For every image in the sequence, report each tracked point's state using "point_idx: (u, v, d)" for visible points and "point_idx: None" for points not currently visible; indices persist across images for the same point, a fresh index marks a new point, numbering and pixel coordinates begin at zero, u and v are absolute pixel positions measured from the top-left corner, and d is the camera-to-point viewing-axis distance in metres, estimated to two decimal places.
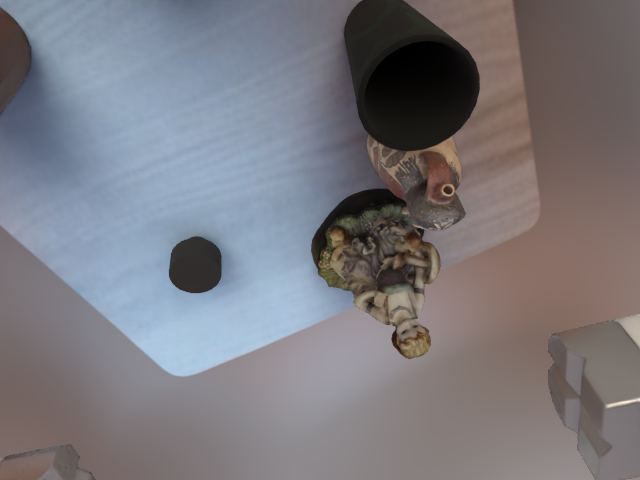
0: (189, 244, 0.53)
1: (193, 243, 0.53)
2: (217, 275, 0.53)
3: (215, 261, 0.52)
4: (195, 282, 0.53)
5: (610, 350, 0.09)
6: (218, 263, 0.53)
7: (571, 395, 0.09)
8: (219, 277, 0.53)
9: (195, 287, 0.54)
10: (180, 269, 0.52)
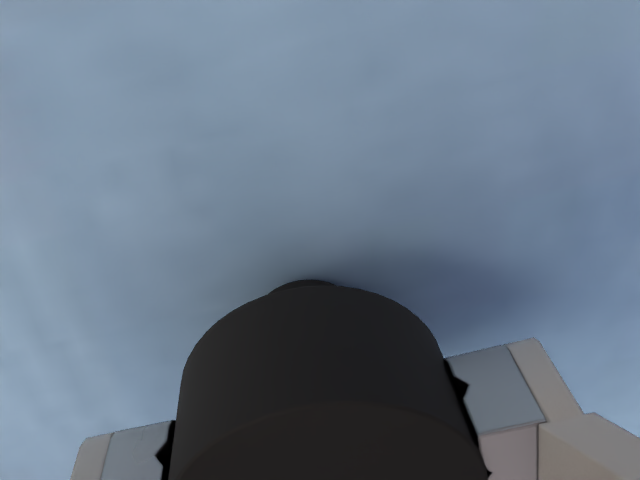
0: None
1: None
2: (356, 421, 0.07)
3: (227, 430, 0.07)
4: None
5: (494, 376, 0.09)
6: (264, 397, 0.07)
7: None
8: (378, 411, 0.07)
9: None
10: None
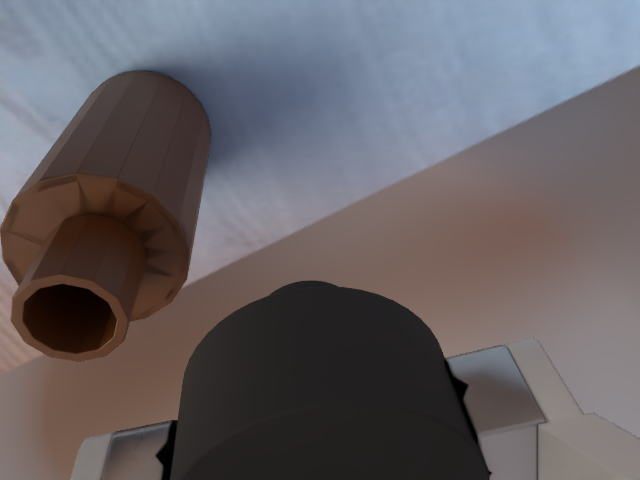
0: None
1: None
2: (358, 422, 0.07)
3: (229, 431, 0.07)
4: None
5: (494, 376, 0.09)
6: (266, 399, 0.07)
7: None
8: (380, 412, 0.07)
9: None
10: None
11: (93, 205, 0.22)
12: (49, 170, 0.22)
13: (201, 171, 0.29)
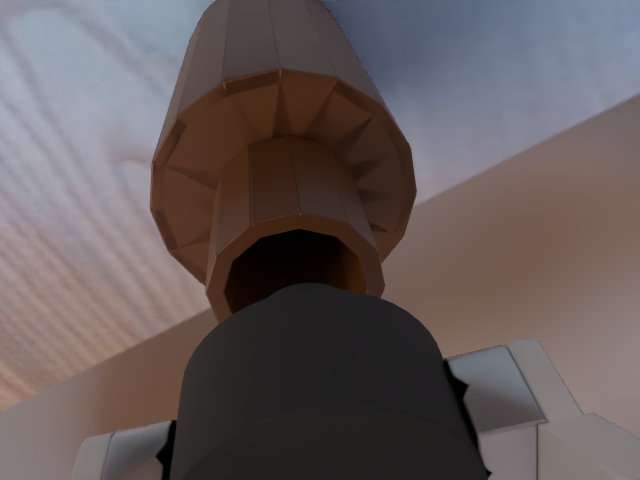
0: None
1: None
2: (357, 426, 0.07)
3: (228, 433, 0.07)
4: None
5: (494, 376, 0.09)
6: (264, 402, 0.07)
7: None
8: (378, 415, 0.07)
9: None
10: None
11: (293, 122, 0.15)
12: (228, 70, 0.15)
13: None
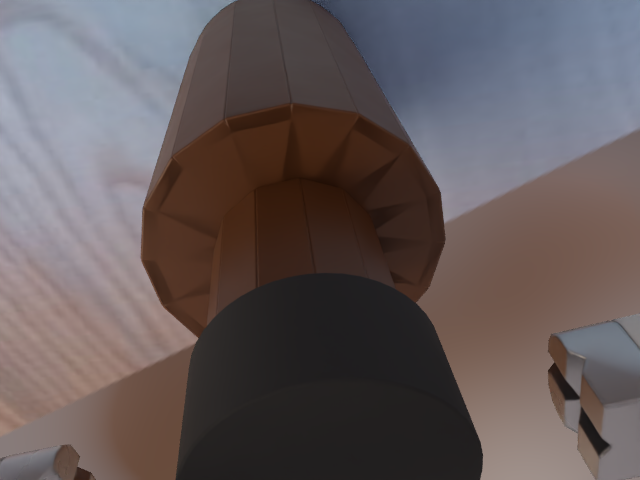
0: None
1: None
2: (358, 398, 0.08)
3: (235, 405, 0.08)
4: None
5: (610, 350, 0.09)
6: (270, 375, 0.08)
7: (571, 395, 0.09)
8: (378, 388, 0.08)
9: None
10: None
11: (305, 163, 0.13)
12: (231, 103, 0.13)
13: None
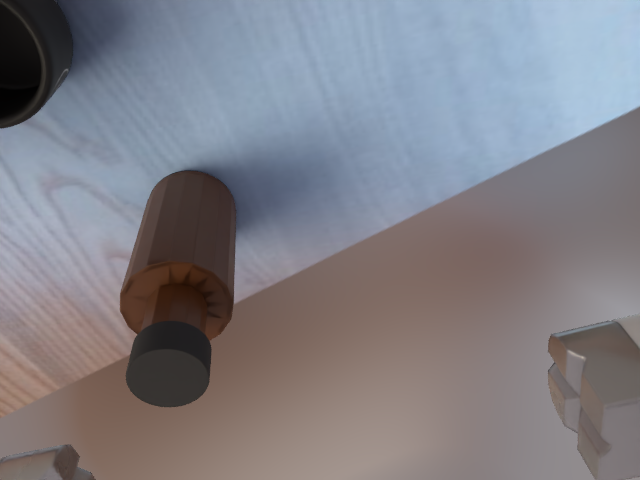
0: None
1: None
2: (169, 353, 0.32)
3: (139, 355, 0.32)
4: (186, 379, 0.33)
5: (610, 350, 0.09)
6: (148, 348, 0.32)
7: (571, 395, 0.09)
8: (173, 351, 0.32)
9: (196, 379, 0.33)
10: (157, 395, 0.34)
11: (176, 278, 0.37)
12: (150, 258, 0.37)
13: (234, 243, 0.44)
